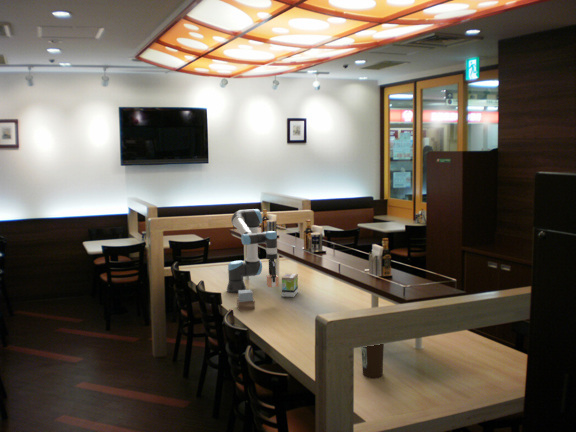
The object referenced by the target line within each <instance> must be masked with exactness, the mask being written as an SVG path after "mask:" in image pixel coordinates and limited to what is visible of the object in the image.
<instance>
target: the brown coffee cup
mask: <svg viewBox="0 0 576 432" xmlns="http://www.w3.org/2000/svg"><path fill="white" fill-rule="evenodd" d="M384 345H385V344H380V345H374V346H367V347H361V346H360V349H361V351H360V352H361V365H362V375H363V376H364V377H365V376H366V378H369V379H378V378H381V377H382V376H383V373H384V372H383V371H384Z"/></svg>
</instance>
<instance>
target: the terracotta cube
mask: <svg viewBox="0 0 576 432" xmlns="http://www.w3.org/2000/svg"><path fill="white" fill-rule="evenodd" d="M274 276H275V275H274ZM271 277H272V275H269V274H268V275H266V285H267V287H268V288H273V287H272V278H271ZM276 287H277V288H278V287H280V286H279V276H278V275H277V274H276V286H275V287H274V288H276Z"/></svg>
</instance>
